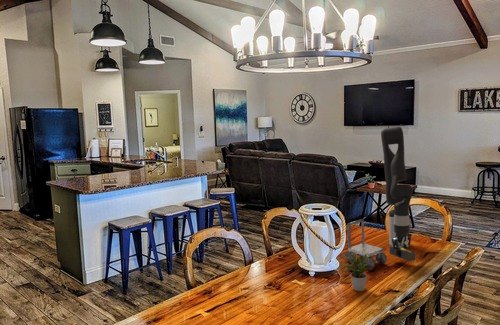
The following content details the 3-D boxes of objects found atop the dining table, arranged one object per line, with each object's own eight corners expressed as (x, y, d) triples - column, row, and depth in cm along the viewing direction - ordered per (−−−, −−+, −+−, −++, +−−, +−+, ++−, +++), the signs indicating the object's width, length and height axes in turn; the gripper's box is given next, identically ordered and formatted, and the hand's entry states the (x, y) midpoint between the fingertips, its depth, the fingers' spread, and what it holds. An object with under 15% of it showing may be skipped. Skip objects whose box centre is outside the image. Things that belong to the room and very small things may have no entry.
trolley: (344, 261, 207) (343, 222, 205) (359, 256, 214) (358, 218, 212) (372, 270, 193) (371, 228, 190) (387, 264, 199) (386, 224, 197)
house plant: (353, 278, 185) (353, 245, 183) (381, 286, 175) (380, 251, 173) (337, 288, 175) (336, 253, 173) (365, 297, 165) (364, 260, 163)
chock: (389, 253, 204) (389, 245, 203) (395, 251, 205) (395, 244, 205) (408, 261, 192) (408, 253, 191) (415, 259, 193) (415, 251, 193)
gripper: (403, 219, 204) (403, 250, 206) (386, 224, 195) (387, 256, 197) (416, 221, 197) (416, 253, 199) (399, 227, 189) (400, 260, 191)
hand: (402, 255), depth 198 cm, fingers closed on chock, 5 cm apart
